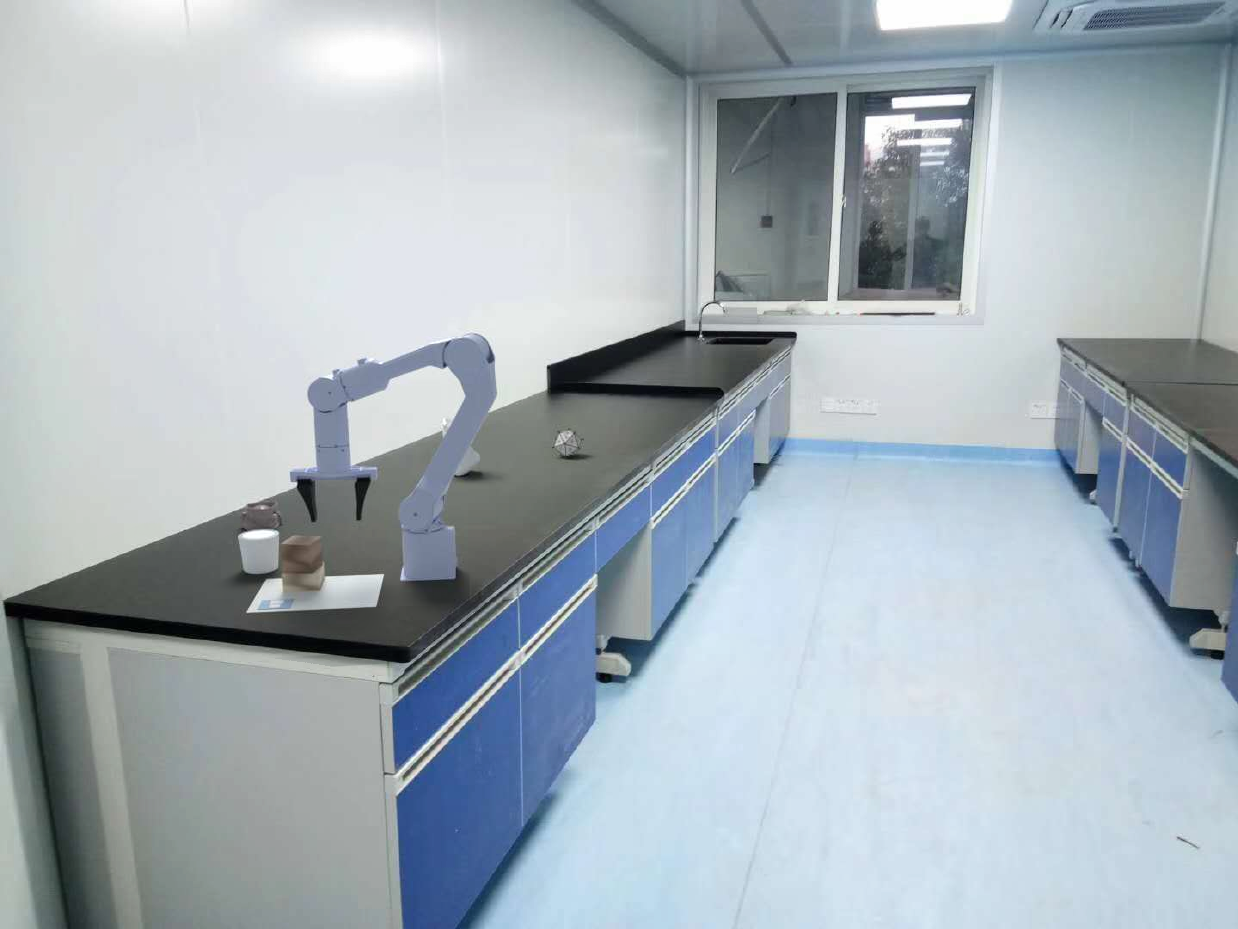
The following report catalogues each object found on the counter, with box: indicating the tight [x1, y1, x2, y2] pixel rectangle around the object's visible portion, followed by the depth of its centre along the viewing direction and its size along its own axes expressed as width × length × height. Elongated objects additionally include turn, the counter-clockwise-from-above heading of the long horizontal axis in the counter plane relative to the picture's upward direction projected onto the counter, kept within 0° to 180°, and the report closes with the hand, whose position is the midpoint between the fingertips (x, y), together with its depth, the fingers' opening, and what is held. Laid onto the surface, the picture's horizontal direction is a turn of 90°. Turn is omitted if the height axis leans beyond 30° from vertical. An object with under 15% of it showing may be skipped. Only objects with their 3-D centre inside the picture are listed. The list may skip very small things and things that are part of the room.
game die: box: [550, 427, 584, 458], centre depth 268 cm, size 9×8×10 cm
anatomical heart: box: [440, 417, 481, 477], centre depth 244 cm, size 10×11×15 cm
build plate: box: [245, 573, 385, 614], centre depth 159 cm, size 20×16×1 cm
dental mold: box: [240, 501, 284, 531], centre depth 197 cm, size 8×7×5 cm
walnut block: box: [280, 535, 324, 574], centre depth 162 cm, size 5×5×5 cm
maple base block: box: [281, 561, 326, 592], centre depth 162 cm, size 6×6×3 cm
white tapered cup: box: [237, 529, 280, 575], centre depth 170 cm, size 7×7×7 cm
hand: (336, 520), depth 168 cm, fingers open, 7 cm apart
